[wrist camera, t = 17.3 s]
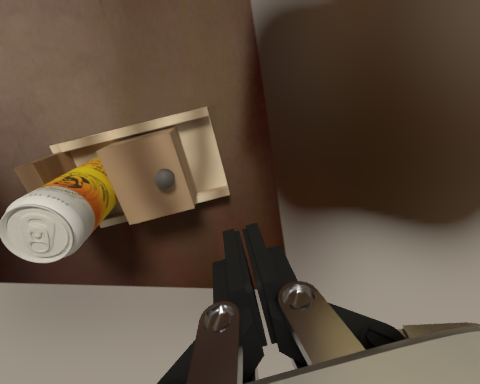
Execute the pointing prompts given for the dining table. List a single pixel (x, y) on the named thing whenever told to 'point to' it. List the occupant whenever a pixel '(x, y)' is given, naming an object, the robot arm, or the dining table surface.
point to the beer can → (58, 214)
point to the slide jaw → (150, 175)
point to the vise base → (84, 149)
